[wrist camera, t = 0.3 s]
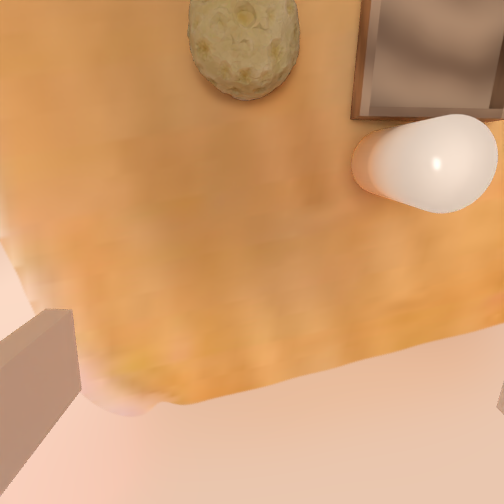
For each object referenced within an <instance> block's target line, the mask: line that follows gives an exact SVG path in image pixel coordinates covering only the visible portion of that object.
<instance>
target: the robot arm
mask: <svg viewBox="0 0 504 504" xmlns="http://www.w3.org/2000/svg"><path fill="white" fill-rule="evenodd" d="M81 389H82V388H81V380H80V371H79V363H78V355H77V346H76V338H75V330H74V321H73V313H72V310H66V309H45V310H44V311H42V312H41V313H39V314H38V315H37V316H35V317H34V318H32V319H31V320H30V321H28V322H27V323H25V324H24V325H23V326H21V327H20V328H19V329H17V330H16V331H14V332H13V333H11V334H10V335H9V336H7V337H6V338H4V339H3V340H1V341H0V496H1V495H2V493H3V492H4V491H5V489H6V488H7V487H8V485H9V484H10V483H11V482H12V480H13V479H14V478H15V476H16V475H17V474H18V472H19V471H20V470H21V468H22V467H23V466H24V464H25V463H26V462H27V460H28V459H29V458H30V457H31V455H32V454H33V452H34V451H35V450H36V449H37V447H38V446H39V445H40V443H41V442H42V441H43V439H44V438H45V437H46V435H47V434H48V433H49V432H50V430H51V429H52V427H53V426H54V425H55V423H56V422H57V421H58V420H59V418H60V417H61V416H62V414H63V413H64V412H65V410H66V409H67V408H68V406H69V405H70V404H71V403H72V401H73V400H74V399H75V397H76V396H77V395H78V393H79V392H80V391H81ZM497 408H498V409H499V410H500V411H501V412H502V413H503V414H504V383H503V387H502V390H501V393H500V397H499V400H498V404H497Z"/></svg>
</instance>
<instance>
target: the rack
mask: <svg viewBox="0 0 504 504" xmlns="http://www.w3.org/2000/svg"><path fill="white" fill-rule="evenodd" d="M451 114H462V115H468V116H471V117H474V118H476V119H478V120H479V121H481V122H492V121H498V120H504V0H362V4H361V14H360V25H359V35H358V46H357V56H356V67H355V77H354V88H353V98H352V109H351V119H352V120H404V121H422V120H427V119H431V118H436V117H441V116H445V115H451Z"/></svg>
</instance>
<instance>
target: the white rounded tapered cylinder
mask: <svg viewBox="0 0 504 504" xmlns="http://www.w3.org/2000/svg"><path fill="white" fill-rule="evenodd" d="M497 162H498V150H497V145H496V141H495V139H494V136H493V134H492V133H491V131H490V130H489V129H488V127H487V126H486V125H485V124H484V123H482V122H481V121H479V120H478V119H476V118H474V117H471V116H468V115H462V114H451V115H445V116H441V117H436V118H431V119H427V120H422V121H417V122H413V123H408V124H404V125H399V126H394V127H390V128H385V129H380V130H377V131H374V132H372V133H370V134H368V135H367V136H365V137H364V138H363V139H362V140H361V141H360V142H359V144H358V145H357V147H356V148H355V150H354V153H353V156H352V161H351V170H352V174H353V177H354V179H355V181H356V182H357V184H358V185H359V186H360V187H361V188H362V189H364V190H365V191H367V192H370V193H373V194H376V195H379V196H382V197H385V198H388V199H391V200H394V201H397V202H401V203H404V204H407V205H410V206H413V207H416V208H419V209H422V210H425V211H428V212H433V213H449V212H454V211H457V210H460V209H462V208H465V207H466V206H468V205H470V204H471V203H473V202H474V201H475V200H477V199H478V198H479V197H480V196H481V195H482V194H483V193H484V192H485V190H486V189H487V187H488V186H489V184H490V183H491V181H492V179H493V177H494V174H495V171H496V168H497Z"/></svg>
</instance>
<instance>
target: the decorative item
mask: <svg viewBox="0 0 504 504" xmlns="http://www.w3.org/2000/svg"><path fill="white" fill-rule="evenodd" d="M188 37H189V44H190V50H191V53H192V56H193V61H194V62H195V65H196V66H197V68H198V69H199V71H200V73H201V74H202V75H203V76H204V77H205V78H206V79H207V80H208V81H210V82H211V83H212V84H213V85H214V86H215V87H216V88H217V89H218V90H220V91H221V92H222V93H227V94H230V95H232V96H233V97H234V98H236V99H239V100H252V99H258V98H261V97H263V96H265V95H267V94H268V93H270V92H271V91H272V90H274V89H275V88H276V87H278V86H280V85H281V84H282V83H283V82H284V81H285V79H286V77H287V76H288V75H289V74H290V71H291V69H292V67H293V66H294V65H295V64H296V59H297V57H298V52H299V37H300V30H299V21H298V11H297V5H296V3H295V1H294V0H190V6H189V25H188Z"/></svg>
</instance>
